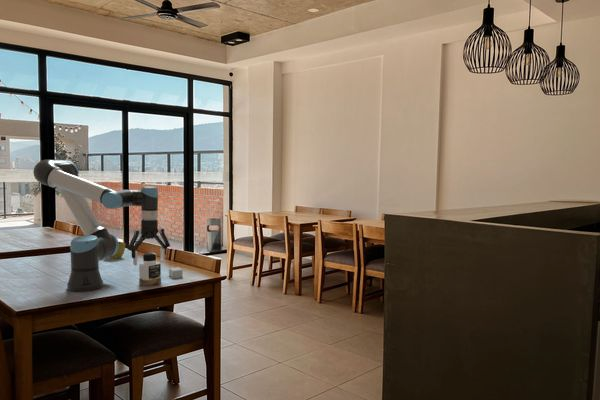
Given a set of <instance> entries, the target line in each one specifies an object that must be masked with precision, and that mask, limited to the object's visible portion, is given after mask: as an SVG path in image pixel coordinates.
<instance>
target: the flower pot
mask: <svg viewBox="0 0 600 400" xmlns="http://www.w3.org/2000/svg"><path fill="white" fill-rule="evenodd" d="M118 243H119V247H118V250H117V252H116V253H115V254H114V255H113V256H111V257H109V258H110V259H118V258H122V257H123V255H124V253H125V250H126V242H121V241H118ZM109 258H108V259H109Z"/></svg>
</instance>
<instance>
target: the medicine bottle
mask: <svg viewBox="0 0 600 400" xmlns="http://www.w3.org/2000/svg"><path fill="white" fill-rule="evenodd" d="M142 256H143V260H142V261H143V262H141V263H139V264H138V265H139V266H138V267H139V271H138V274H139V276H138V277H139V278H138V279H140V278H141V279H145V280H152V279H157V278H160V277H161V272H162V269H161V267H162V266H161V262H157V254H156V253H155V252H146V253H144V254H143V255H142ZM161 278H162V277H161Z"/></svg>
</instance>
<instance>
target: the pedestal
mask: <svg viewBox="0 0 600 400" xmlns="http://www.w3.org/2000/svg"><path fill="white" fill-rule="evenodd" d="M138 279H139V281H138V283H139V285H140V287H141V286H142V287H154V286H155V287H156V286H159V285H161V284H162V277H160V278H157V279H152V280H145V279H141V278H138Z"/></svg>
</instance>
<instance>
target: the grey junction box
mask: <svg viewBox="0 0 600 400" xmlns="http://www.w3.org/2000/svg"><path fill="white" fill-rule="evenodd" d="M168 276H169V277H170V278H172V279H179V278H180V277H181V278H183V277H184V276H183V269H182V268H180V267H179V266H178V267H169V268H168Z"/></svg>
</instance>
